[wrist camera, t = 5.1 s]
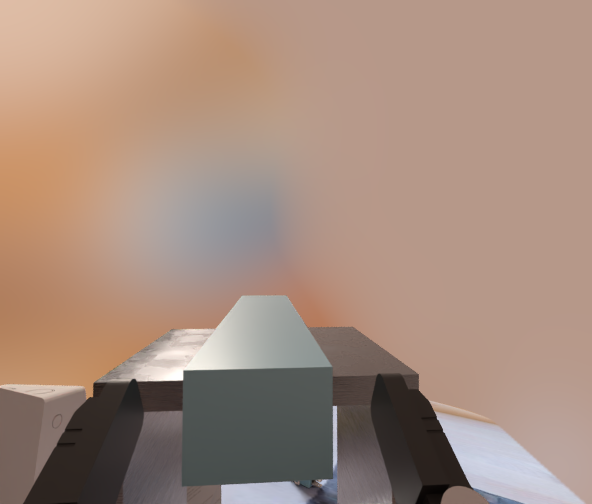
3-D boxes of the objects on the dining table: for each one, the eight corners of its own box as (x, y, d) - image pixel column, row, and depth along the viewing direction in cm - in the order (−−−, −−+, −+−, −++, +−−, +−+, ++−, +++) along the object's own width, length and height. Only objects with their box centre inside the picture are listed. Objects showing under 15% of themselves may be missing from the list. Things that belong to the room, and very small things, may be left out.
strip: (332, 479, 9) (332, 366, 9) (181, 486, 9) (183, 370, 9) (286, 328, 31) (286, 295, 31) (241, 329, 31) (242, 295, 31)
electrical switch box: (95, 491, 61) (108, 372, 64) (24, 546, 46) (46, 389, 50) (17, 487, 62) (34, 370, 65) (-77, 540, 47) (-48, 386, 51)
